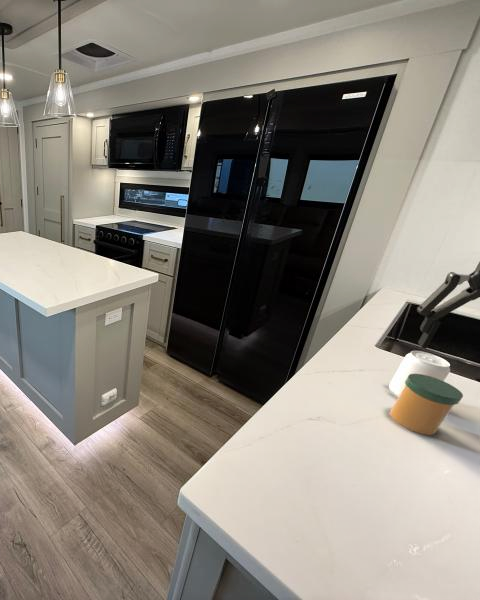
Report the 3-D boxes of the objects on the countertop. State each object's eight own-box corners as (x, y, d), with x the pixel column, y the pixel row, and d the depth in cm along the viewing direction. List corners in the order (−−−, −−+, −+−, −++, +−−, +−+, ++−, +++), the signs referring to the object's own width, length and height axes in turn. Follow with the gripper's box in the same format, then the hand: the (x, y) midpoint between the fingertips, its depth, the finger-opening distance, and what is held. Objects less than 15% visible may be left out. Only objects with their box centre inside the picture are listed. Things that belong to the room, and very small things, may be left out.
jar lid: (450, 389, 72) (454, 383, 72) (466, 411, 66) (470, 404, 65) (400, 375, 77) (403, 369, 76) (410, 394, 70) (414, 387, 69)
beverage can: (426, 410, 79) (450, 371, 74) (384, 392, 85) (405, 355, 80) (431, 398, 83) (455, 361, 78) (391, 381, 89) (411, 346, 84)
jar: (429, 419, 76) (451, 384, 72) (440, 440, 70) (466, 404, 66) (386, 405, 80) (405, 372, 76) (393, 424, 74) (414, 389, 69)
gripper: (601, 260, 55) (524, 363, 64) (429, 240, 66) (383, 331, 75) (637, 270, 50) (546, 382, 59) (441, 246, 61) (390, 343, 69)
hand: (454, 353), depth 67 cm, fingers open, 10 cm apart
